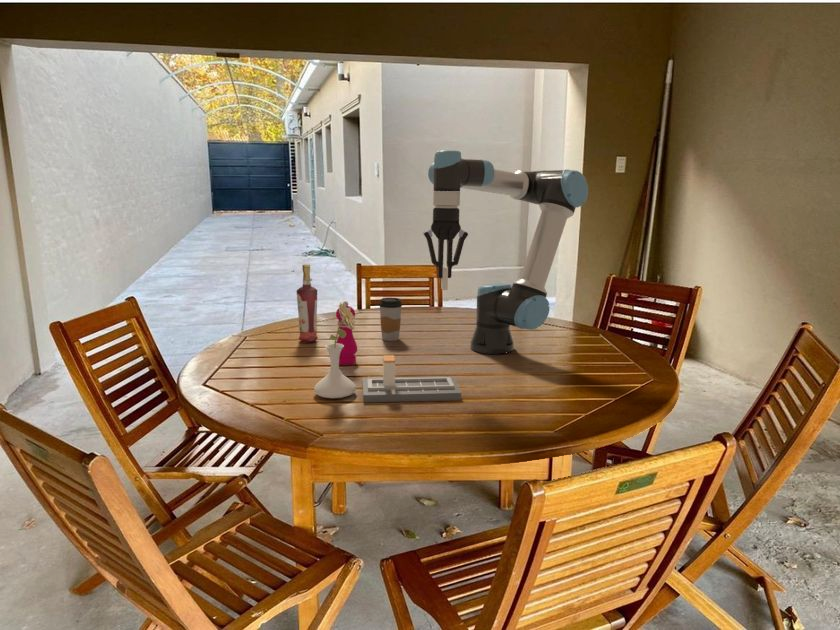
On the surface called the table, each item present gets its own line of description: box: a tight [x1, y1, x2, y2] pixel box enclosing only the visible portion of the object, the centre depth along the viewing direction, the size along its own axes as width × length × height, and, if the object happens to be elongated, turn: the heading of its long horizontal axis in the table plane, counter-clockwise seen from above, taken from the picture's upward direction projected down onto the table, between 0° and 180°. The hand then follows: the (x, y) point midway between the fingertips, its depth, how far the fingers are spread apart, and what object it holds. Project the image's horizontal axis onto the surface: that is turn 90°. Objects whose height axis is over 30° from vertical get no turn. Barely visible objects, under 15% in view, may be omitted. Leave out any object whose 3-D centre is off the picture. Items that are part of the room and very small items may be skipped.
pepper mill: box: [335, 300, 358, 366], centre depth 183 cm, size 7×7×20 cm
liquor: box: [296, 264, 319, 344], centre depth 206 cm, size 7×7×28 cm
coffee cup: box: [378, 297, 403, 342], centre depth 212 cm, size 8×8×15 cm
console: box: [362, 375, 462, 403], centre depth 159 cm, size 26×14×3 cm, turn 96°
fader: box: [382, 354, 396, 387], centre depth 157 cm, size 3×5×8 cm, turn 6°
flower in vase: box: [313, 302, 357, 399], centre depth 154 cm, size 13×11×25 cm
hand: (444, 289), depth 168 cm, fingers closed
